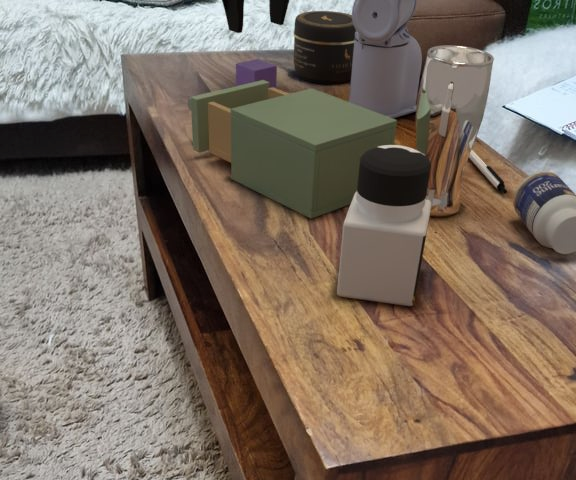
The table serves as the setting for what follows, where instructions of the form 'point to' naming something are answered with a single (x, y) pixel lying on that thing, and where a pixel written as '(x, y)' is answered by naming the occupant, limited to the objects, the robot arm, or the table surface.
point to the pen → (488, 172)
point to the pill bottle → (548, 210)
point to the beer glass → (450, 118)
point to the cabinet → (305, 148)
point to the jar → (324, 46)
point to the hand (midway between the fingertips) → (256, 27)
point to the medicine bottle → (386, 227)
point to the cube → (256, 72)
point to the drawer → (223, 114)
